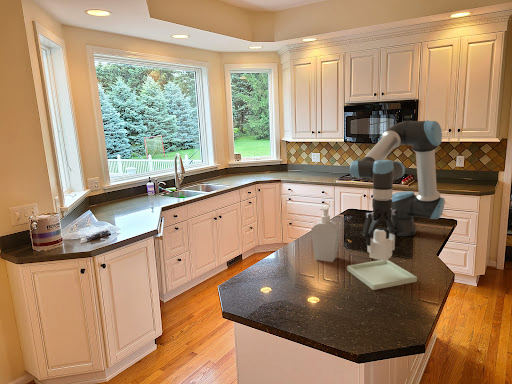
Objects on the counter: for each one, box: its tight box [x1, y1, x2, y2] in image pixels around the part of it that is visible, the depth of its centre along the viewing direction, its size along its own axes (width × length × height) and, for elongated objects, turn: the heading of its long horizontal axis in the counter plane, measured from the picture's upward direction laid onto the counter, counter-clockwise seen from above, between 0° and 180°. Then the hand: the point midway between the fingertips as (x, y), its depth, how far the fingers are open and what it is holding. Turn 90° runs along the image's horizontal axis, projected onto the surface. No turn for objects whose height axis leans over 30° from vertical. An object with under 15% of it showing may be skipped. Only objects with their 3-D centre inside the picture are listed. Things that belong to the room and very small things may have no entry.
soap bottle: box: [310, 204, 342, 263], centre depth 171 cm, size 12×10×26 cm
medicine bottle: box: [368, 227, 393, 261], centre depth 149 cm, size 7×7×12 cm
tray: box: [346, 259, 418, 291], centre depth 152 cm, size 20×20×2 cm
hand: (380, 250), depth 150 cm, fingers closed on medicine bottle, 10 cm apart
